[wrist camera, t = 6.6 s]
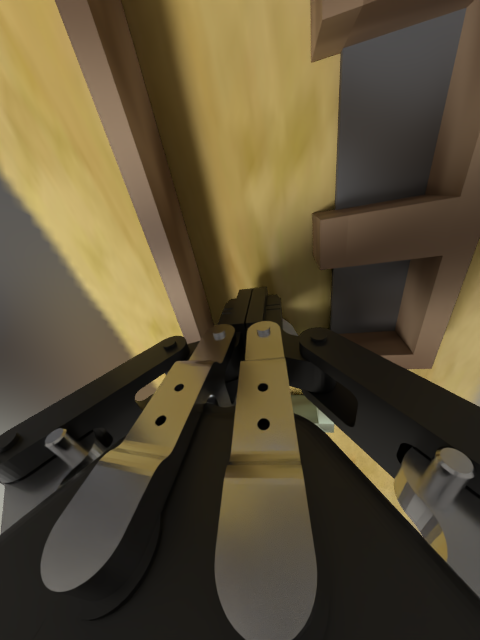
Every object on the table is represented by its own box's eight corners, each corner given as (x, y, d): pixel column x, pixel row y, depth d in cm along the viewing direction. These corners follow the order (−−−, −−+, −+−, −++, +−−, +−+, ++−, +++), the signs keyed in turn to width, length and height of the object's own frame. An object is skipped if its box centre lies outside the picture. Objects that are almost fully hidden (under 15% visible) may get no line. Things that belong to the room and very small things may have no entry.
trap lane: (84, -31, 7) (12, -110, 5) (579, -298, 5) (816, -680, 3) (225, 402, 19) (218, 427, 17) (390, 404, 16) (406, 435, 14)
